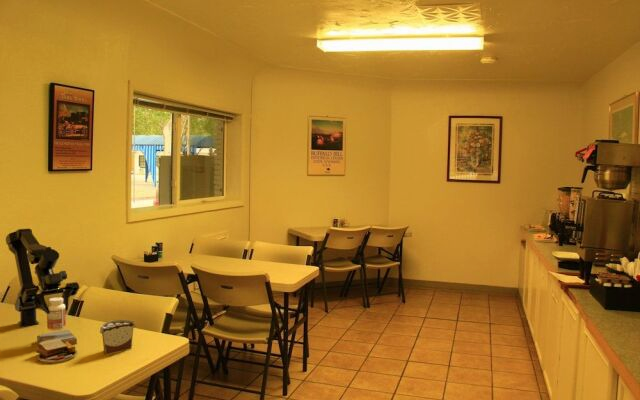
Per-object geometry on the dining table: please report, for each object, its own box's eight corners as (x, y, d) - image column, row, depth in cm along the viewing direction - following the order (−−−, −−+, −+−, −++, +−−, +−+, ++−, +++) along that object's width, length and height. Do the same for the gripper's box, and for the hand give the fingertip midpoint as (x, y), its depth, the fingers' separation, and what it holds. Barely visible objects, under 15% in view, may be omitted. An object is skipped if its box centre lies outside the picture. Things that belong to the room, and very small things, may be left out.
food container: (127, 343, 195) (127, 317, 195) (135, 347, 191) (135, 321, 190) (94, 351, 187) (94, 323, 186) (101, 356, 182) (101, 327, 182)
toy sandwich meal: (42, 367, 172) (42, 353, 171) (31, 355, 182) (31, 342, 181) (82, 358, 180) (82, 345, 180) (70, 347, 190) (70, 335, 190)
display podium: (37, 341, 195) (36, 334, 195) (69, 335, 202) (68, 329, 202) (43, 350, 186) (43, 343, 186) (76, 343, 193) (76, 337, 193)
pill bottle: (56, 324, 198) (56, 295, 197) (69, 326, 196) (69, 297, 195) (43, 329, 192) (42, 299, 191) (56, 331, 190) (56, 302, 189)
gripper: (24, 267, 188) (35, 304, 181) (77, 261, 201) (89, 295, 195) (17, 284, 194) (28, 321, 187) (69, 277, 207) (81, 311, 201)
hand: (57, 311), depth 192 cm, fingers closed on pill bottle, 6 cm apart
